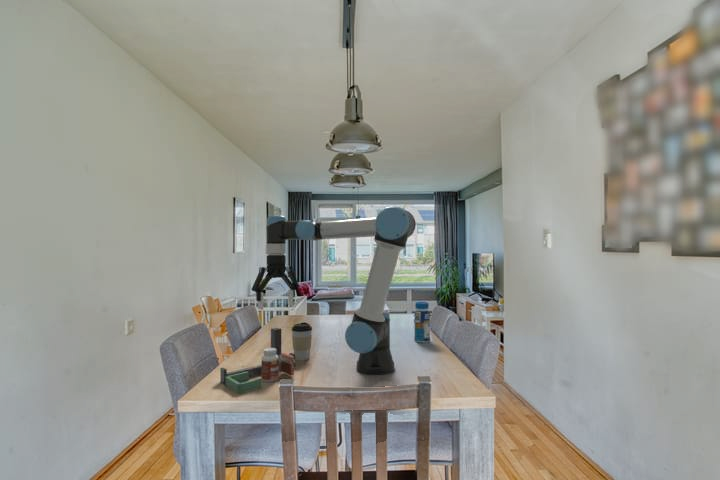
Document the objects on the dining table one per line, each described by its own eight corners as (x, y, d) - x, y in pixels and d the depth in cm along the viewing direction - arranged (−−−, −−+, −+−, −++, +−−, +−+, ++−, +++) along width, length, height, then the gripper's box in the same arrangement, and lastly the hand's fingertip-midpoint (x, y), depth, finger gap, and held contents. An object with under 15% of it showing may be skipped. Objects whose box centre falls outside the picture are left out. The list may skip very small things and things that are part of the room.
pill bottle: (272, 383, 139) (272, 352, 139) (257, 381, 141) (257, 350, 142) (281, 377, 145) (281, 348, 145) (267, 375, 147) (267, 346, 147)
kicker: (299, 373, 148) (299, 332, 148) (285, 377, 144) (285, 334, 144) (280, 365, 158) (280, 327, 158) (267, 369, 154) (267, 329, 154)
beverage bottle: (412, 339, 205) (412, 301, 205) (427, 338, 206) (427, 301, 206) (416, 343, 196) (416, 303, 197) (432, 342, 197) (432, 303, 198)
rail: (295, 366, 159) (295, 354, 159) (223, 384, 139) (223, 369, 139) (291, 364, 161) (291, 352, 161) (220, 381, 141) (220, 368, 141)
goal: (261, 387, 135) (261, 378, 135) (238, 393, 129) (238, 384, 129) (247, 379, 143) (247, 371, 143) (224, 385, 137) (225, 376, 137)
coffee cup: (308, 361, 166) (308, 326, 166) (288, 360, 168) (288, 325, 168) (314, 355, 175) (314, 322, 175) (295, 354, 176) (295, 321, 177)
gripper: (297, 254, 167) (297, 303, 167) (242, 254, 150) (242, 309, 150) (307, 254, 161) (307, 305, 161) (251, 255, 145) (251, 312, 144)
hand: (276, 307), depth 155 cm, fingers open, 13 cm apart
